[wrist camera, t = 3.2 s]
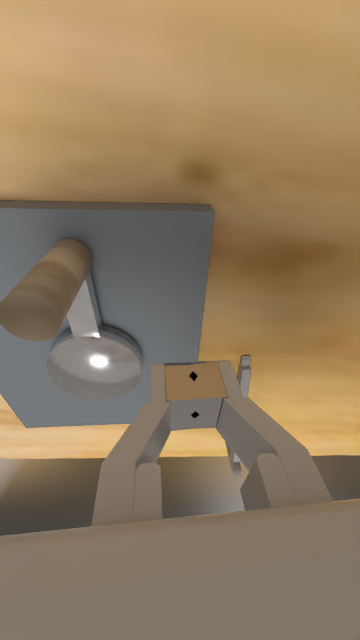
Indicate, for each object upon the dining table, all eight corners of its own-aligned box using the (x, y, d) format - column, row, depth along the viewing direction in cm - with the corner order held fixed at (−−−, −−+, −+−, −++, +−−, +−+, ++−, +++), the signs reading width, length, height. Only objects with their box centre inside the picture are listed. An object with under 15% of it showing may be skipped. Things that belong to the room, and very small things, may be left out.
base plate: (209, 204, 17) (215, 212, 15) (189, 407, 33) (190, 422, 31) (-112, 198, 15) (-146, 206, 14) (31, 413, 32) (23, 429, 30)
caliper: (230, 437, 40) (240, 479, 35) (224, 437, 40) (233, 480, 35) (249, 353, 27) (268, 401, 22) (240, 353, 27) (257, 402, 22)
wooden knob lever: (144, 381, 25) (139, 451, 20) (67, 384, 25) (40, 456, 19) (130, 238, 16) (113, 296, 10) (4, 237, 15) (-85, 297, 10)
